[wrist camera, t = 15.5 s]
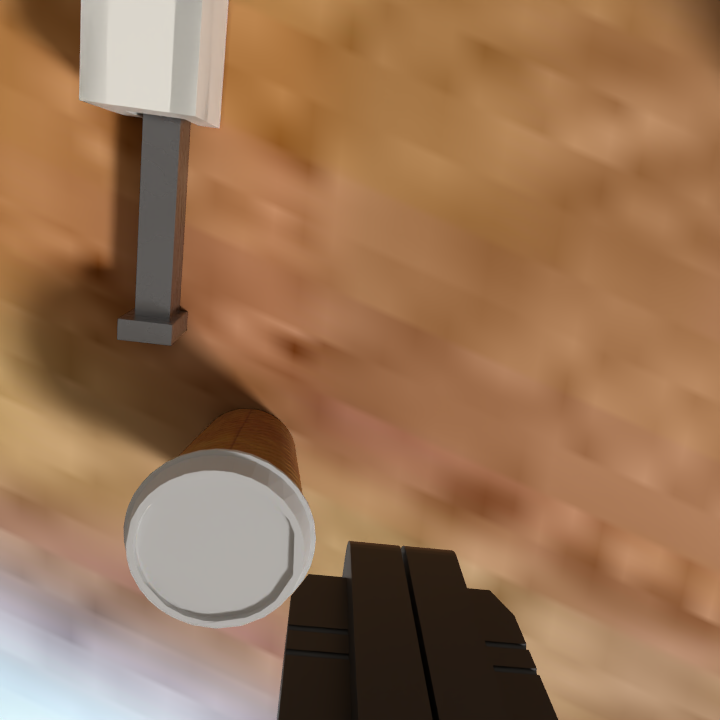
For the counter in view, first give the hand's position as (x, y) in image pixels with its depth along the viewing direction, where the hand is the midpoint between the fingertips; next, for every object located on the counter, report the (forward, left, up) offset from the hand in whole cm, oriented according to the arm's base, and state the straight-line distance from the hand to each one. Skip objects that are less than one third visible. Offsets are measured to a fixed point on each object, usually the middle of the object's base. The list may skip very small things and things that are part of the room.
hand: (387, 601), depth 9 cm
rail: (+11, -7, -32) cm, 34 cm away
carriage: (+11, -12, -32) cm, 36 cm away
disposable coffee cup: (+5, +12, -32) cm, 35 cm away
